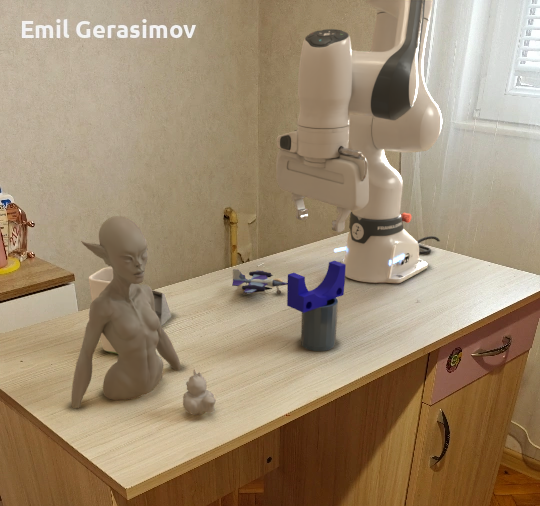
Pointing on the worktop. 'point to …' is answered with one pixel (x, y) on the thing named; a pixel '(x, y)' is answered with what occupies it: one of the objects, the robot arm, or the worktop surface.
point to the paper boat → (161, 307)
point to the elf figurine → (124, 319)
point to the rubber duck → (198, 396)
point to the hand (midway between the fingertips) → (319, 224)
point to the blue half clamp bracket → (316, 289)
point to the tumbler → (320, 327)
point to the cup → (97, 285)
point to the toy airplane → (256, 281)
